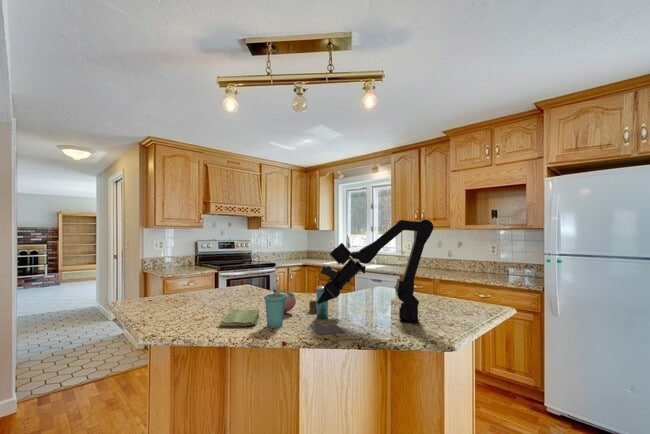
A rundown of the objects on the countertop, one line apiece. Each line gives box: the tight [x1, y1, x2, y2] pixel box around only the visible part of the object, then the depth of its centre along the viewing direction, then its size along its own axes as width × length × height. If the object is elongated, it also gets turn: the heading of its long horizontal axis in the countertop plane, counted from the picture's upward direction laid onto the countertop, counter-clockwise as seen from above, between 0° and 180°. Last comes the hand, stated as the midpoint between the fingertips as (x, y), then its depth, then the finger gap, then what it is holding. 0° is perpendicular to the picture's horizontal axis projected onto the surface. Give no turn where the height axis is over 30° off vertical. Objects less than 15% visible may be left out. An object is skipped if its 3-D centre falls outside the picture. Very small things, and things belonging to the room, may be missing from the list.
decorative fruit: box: [280, 289, 297, 314], centre depth 134 cm, size 9×8×10 cm
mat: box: [311, 323, 345, 336], centre depth 112 cm, size 9×9×1 cm
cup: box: [263, 283, 286, 329], centre depth 116 cm, size 14×8×15 cm, turn 7°
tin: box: [315, 285, 329, 320], centre depth 128 cm, size 5×5×12 cm
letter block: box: [309, 298, 317, 313], centre depth 139 cm, size 4×4×5 cm
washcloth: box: [219, 308, 260, 328], centre depth 123 cm, size 13×18×3 cm
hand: (319, 300), depth 128 cm, fingers open, 9 cm apart
